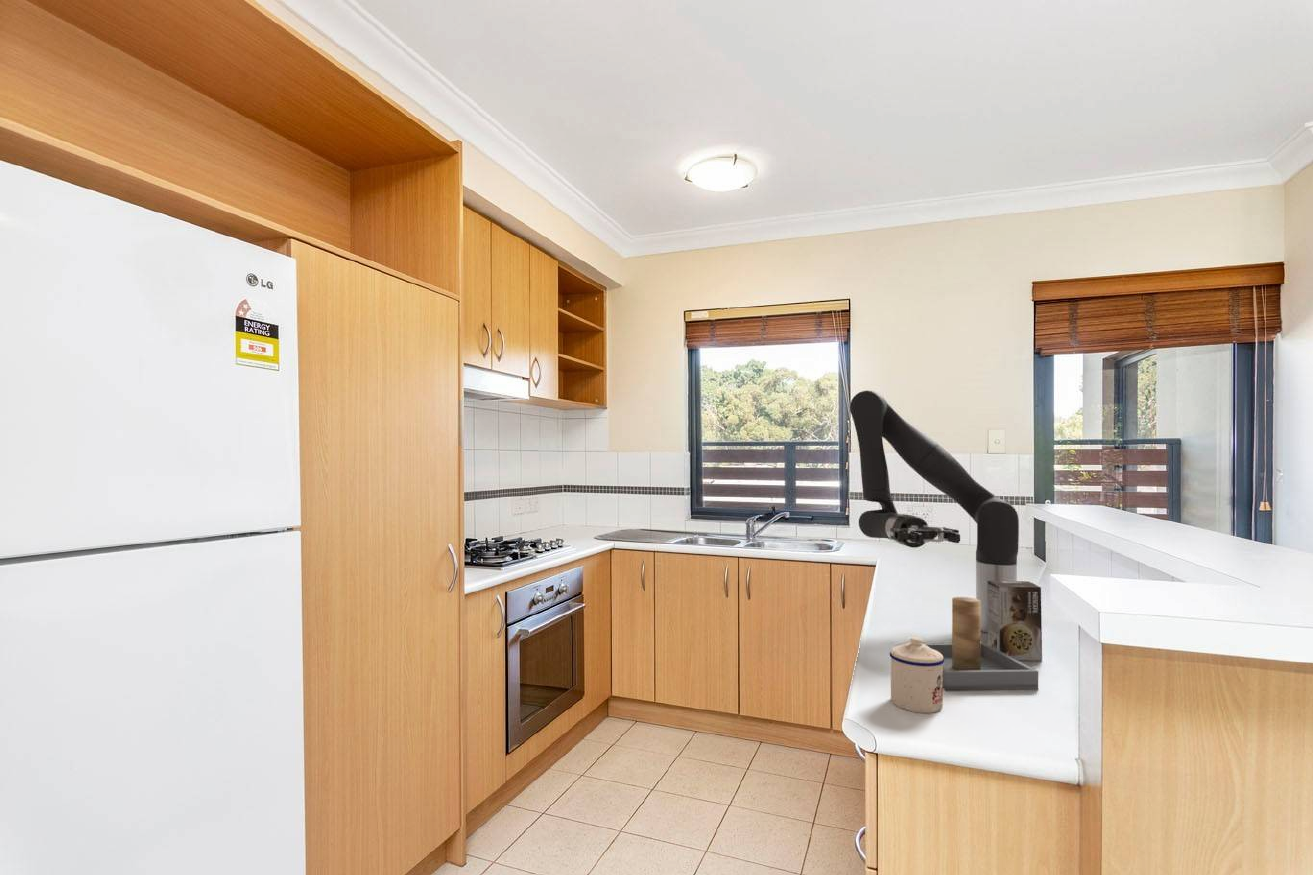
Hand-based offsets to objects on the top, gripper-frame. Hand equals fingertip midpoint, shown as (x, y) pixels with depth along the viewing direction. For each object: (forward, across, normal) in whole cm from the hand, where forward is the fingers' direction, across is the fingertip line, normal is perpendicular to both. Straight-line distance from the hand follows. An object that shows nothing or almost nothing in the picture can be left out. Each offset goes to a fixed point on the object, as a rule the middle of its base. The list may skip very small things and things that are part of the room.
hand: (939, 538), depth 144 cm
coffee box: (0, +17, +26) cm, 31 cm away
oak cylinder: (+11, 0, +25) cm, 27 cm away
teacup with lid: (+25, -17, +26) cm, 40 cm away
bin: (+11, 0, +26) cm, 28 cm away
